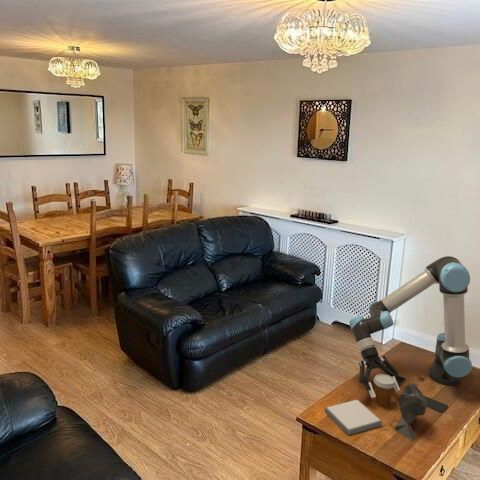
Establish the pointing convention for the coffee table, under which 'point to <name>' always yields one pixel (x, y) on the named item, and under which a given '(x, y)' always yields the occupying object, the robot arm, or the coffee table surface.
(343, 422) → the plate
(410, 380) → the coffee table surface
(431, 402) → the phone
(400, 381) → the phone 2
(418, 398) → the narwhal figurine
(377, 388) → the disposable coffee cup
